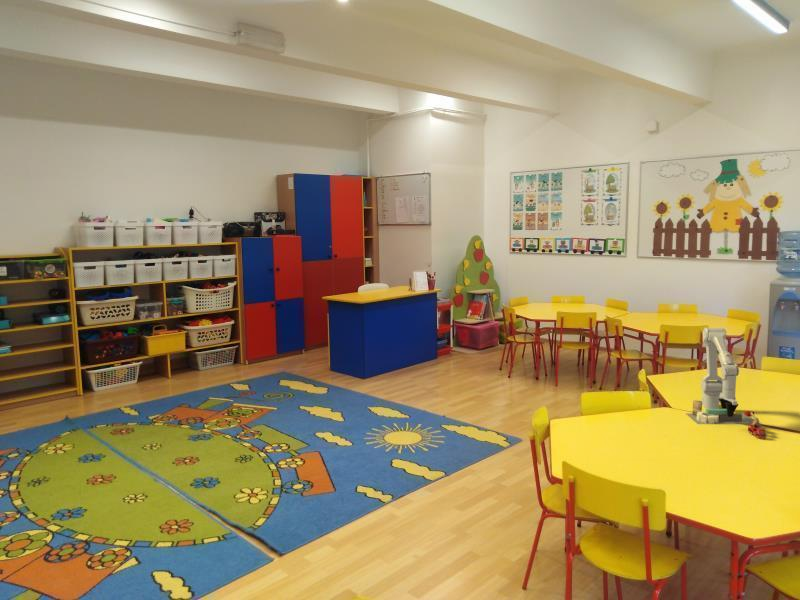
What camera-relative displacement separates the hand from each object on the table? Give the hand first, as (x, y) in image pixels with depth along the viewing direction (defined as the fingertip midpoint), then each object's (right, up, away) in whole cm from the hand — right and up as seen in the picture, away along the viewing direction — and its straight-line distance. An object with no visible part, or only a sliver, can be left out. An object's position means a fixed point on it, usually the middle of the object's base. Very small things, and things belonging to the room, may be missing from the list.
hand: (727, 414), depth 300 cm
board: (-1, -4, +3) cm, 5 cm away
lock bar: (-4, 0, 0) cm, 4 cm away
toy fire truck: (+4, -6, -16) cm, 17 cm away
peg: (-11, -2, +9) cm, 14 cm away
